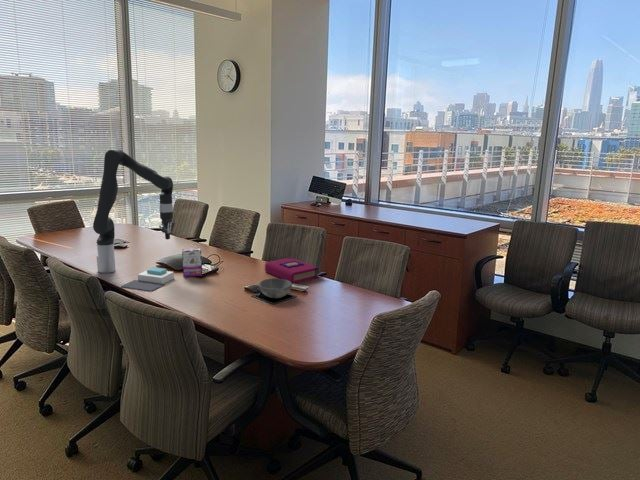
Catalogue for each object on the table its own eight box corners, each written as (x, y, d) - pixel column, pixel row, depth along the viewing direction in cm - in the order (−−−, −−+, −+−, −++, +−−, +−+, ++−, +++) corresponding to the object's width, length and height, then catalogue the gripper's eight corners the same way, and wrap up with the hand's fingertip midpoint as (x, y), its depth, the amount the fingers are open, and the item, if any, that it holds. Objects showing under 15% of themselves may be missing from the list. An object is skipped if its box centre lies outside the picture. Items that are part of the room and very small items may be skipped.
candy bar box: (202, 273, 293) (201, 248, 289) (202, 276, 289) (201, 250, 285) (183, 274, 290) (182, 248, 286) (183, 277, 286) (182, 250, 282)
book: (292, 284, 280) (292, 272, 278) (264, 273, 300) (264, 261, 298) (319, 278, 293) (319, 266, 292) (291, 267, 314) (291, 256, 312)
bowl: (255, 292, 264) (255, 278, 262) (285, 289, 270) (286, 276, 268) (263, 303, 248) (263, 289, 246) (295, 300, 254) (295, 286, 252)
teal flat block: (147, 273, 278) (147, 269, 278) (153, 270, 284) (153, 267, 283) (160, 275, 276) (160, 271, 275) (166, 272, 281) (166, 268, 281)
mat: (120, 287, 265) (120, 286, 265) (134, 280, 276) (134, 279, 276) (151, 291, 260) (151, 290, 260) (164, 285, 271) (164, 284, 271)
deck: (138, 281, 276) (137, 274, 275) (150, 275, 287) (150, 268, 286) (161, 284, 272) (161, 277, 271) (174, 278, 283) (173, 271, 282)
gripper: (167, 208, 290) (168, 236, 294) (154, 212, 277) (155, 240, 282) (178, 209, 288) (179, 237, 292) (165, 213, 275) (166, 242, 279)
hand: (167, 239), depth 287 cm, fingers closed
